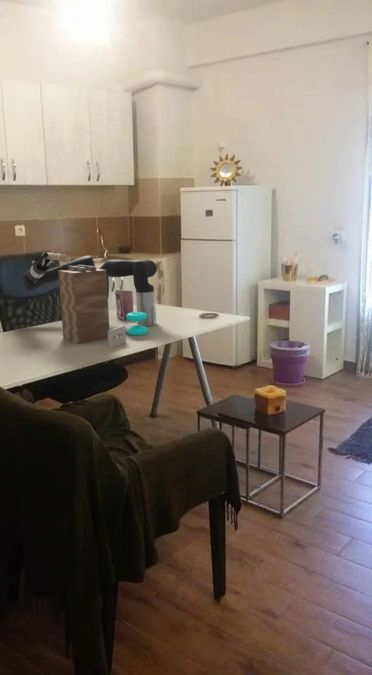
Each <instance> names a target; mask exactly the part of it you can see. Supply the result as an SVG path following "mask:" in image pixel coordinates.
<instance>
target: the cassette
mask: <svg viewBox="0 0 372 675" xmlns="http://www.w3.org/2000/svg"><path fill="white" fill-rule="evenodd" d="M126 339H127V338H126V326H125V325H121V326H118V327H115V328H112V329H110V330H108V339H107V342H108V343H107V345H108V348H109V349H111V348H115V347H118V346H121V345H123V344H125V343H127V340H126Z"/></svg>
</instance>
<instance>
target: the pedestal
mask: <svg viewBox="0 0 372 675" xmlns="http://www.w3.org/2000/svg"><path fill="white" fill-rule="evenodd" d="M58 274H59V280H58V285H59V297H60V300H59V301H60V310H61V311H60V313H61V326H62V337H63V339H64V340H67V341H69V342H72V343H75V344H78V345H80V344H81V345H82V344H87V343H92V342H99V341H102V340H104V341H105V340H108V330H111V329H110V314H109V297H108V281H107V280H108V279H107V277H106V270H103V269H99V268H97V267H96V266H95V267H93V266H85V265H78V266H68V270H61V271H58Z"/></svg>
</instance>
